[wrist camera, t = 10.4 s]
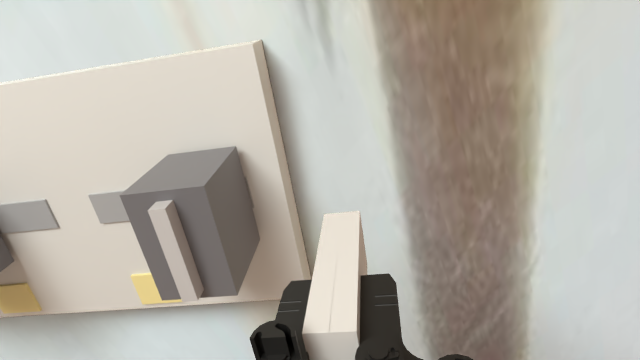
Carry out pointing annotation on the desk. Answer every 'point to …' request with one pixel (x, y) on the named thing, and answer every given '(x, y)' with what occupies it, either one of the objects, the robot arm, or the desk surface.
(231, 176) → the slider
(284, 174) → the console
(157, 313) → the desk surface
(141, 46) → the desk surface
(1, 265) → the slider
